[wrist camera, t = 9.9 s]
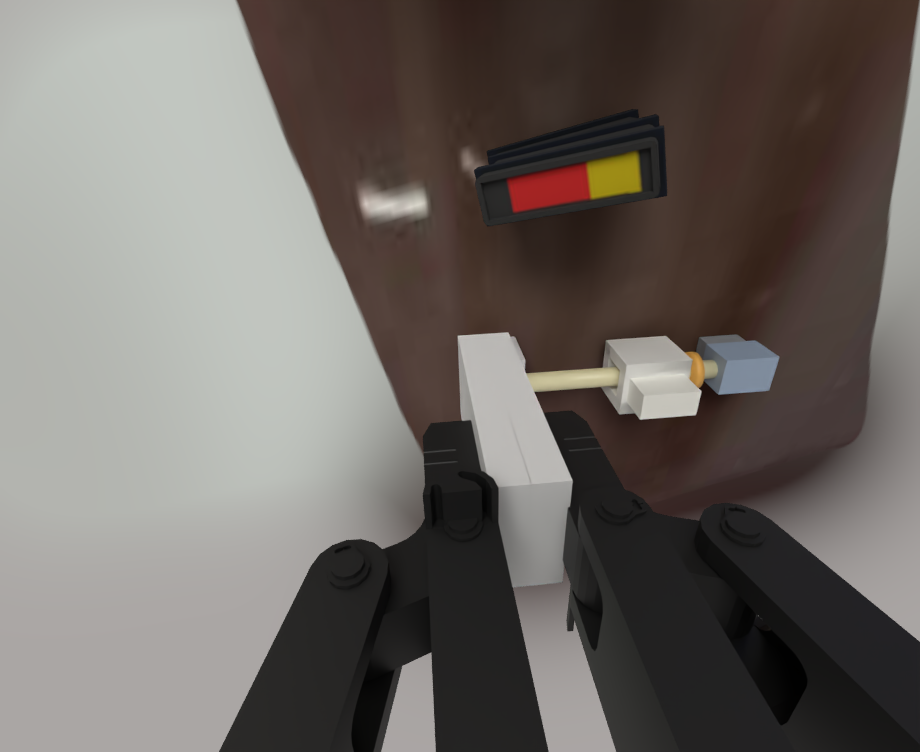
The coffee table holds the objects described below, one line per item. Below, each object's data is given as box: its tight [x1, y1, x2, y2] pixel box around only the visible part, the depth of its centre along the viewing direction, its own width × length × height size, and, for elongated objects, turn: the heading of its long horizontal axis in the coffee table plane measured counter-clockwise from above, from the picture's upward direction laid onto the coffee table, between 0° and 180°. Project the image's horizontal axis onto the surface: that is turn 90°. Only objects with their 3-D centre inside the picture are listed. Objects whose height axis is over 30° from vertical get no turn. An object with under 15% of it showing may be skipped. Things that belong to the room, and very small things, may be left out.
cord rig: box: [510, 335, 779, 395], centre depth 48 cm, size 6×27×6 cm, turn 92°
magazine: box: [474, 109, 667, 226], centre depth 36 cm, size 4×13×15 cm, turn 105°
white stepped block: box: [601, 336, 702, 420], centre depth 46 cm, size 5×6×8 cm
